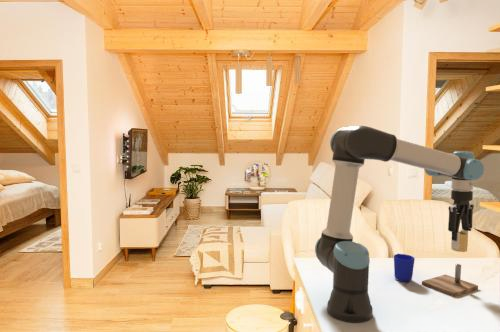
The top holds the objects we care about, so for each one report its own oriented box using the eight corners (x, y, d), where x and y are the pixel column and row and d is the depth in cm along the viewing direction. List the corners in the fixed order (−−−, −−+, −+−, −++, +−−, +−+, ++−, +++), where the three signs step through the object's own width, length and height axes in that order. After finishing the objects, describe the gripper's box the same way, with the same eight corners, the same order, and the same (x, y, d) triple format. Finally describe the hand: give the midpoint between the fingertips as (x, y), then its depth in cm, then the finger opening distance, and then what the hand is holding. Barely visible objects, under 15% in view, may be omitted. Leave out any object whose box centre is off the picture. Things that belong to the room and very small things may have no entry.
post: (458, 285, 153) (459, 266, 152) (452, 283, 155) (453, 264, 154) (462, 284, 154) (463, 265, 153) (456, 282, 156) (457, 263, 156)
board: (454, 296, 145) (454, 293, 145) (421, 284, 157) (422, 281, 157) (477, 289, 153) (478, 285, 153) (445, 277, 165) (445, 274, 165)
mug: (407, 273, 170) (408, 251, 169) (416, 283, 158) (417, 260, 157) (388, 272, 171) (389, 251, 170) (395, 282, 159) (396, 259, 158)
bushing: (461, 252, 150) (462, 235, 149) (449, 249, 154) (449, 232, 154) (469, 250, 153) (470, 233, 152) (456, 247, 157) (457, 230, 157)
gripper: (457, 192, 144) (455, 252, 146) (484, 189, 153) (481, 246, 155) (439, 190, 150) (436, 248, 152) (465, 187, 159) (463, 241, 161)
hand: (459, 247), depth 153 cm, fingers closed on bushing, 5 cm apart
